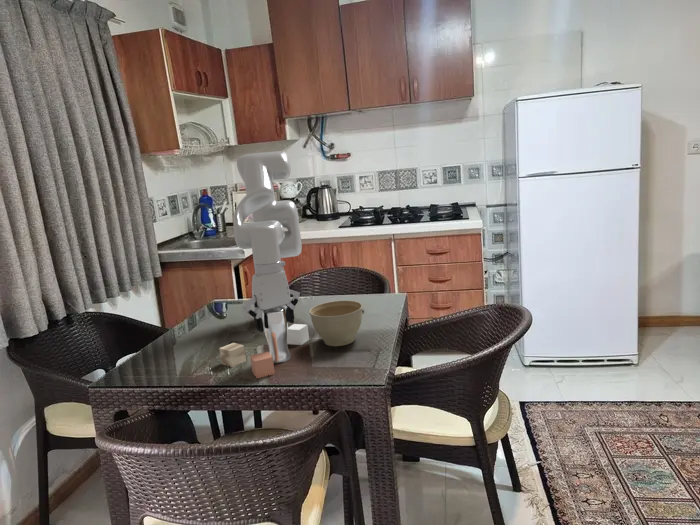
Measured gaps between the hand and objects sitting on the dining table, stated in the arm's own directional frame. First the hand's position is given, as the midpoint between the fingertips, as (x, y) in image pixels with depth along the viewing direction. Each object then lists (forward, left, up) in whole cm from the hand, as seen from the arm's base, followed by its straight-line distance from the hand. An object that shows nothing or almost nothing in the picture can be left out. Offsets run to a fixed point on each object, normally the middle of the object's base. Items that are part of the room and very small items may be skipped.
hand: (275, 326), depth 151 cm
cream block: (-9, +11, -10) cm, 17 cm away
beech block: (-8, -11, -10) cm, 17 cm away
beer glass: (0, 0, -10) cm, 10 cm away
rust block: (+6, -8, -10) cm, 14 cm away
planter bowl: (+1, +20, -10) cm, 22 cm away
